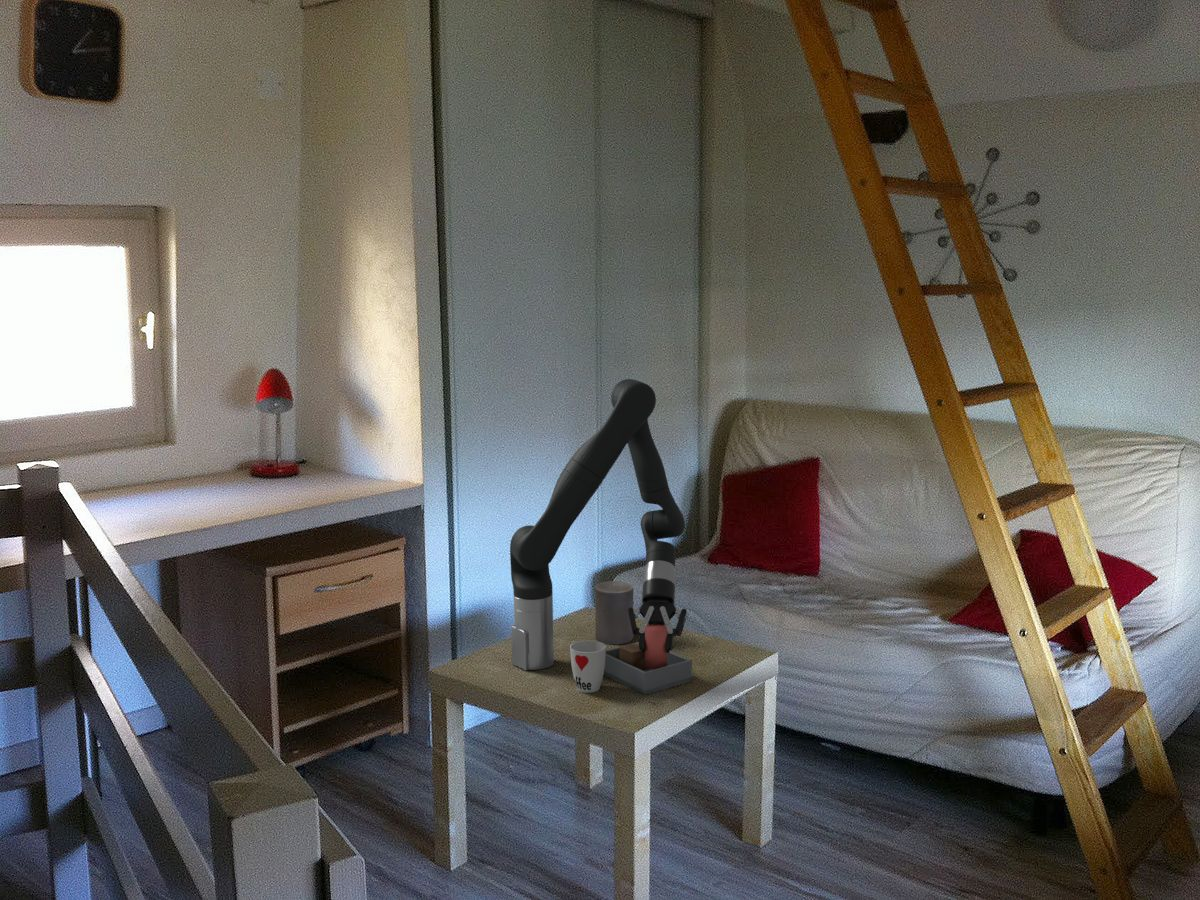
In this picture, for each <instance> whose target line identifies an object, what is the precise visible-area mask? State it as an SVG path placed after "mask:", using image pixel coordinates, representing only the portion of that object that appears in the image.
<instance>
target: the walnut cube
mask: <svg viewBox="0 0 1200 900" xmlns="http://www.w3.org/2000/svg"><path fill="white" fill-rule="evenodd" d="M628 644H629V645H628ZM628 644H625V645H622V646H618V647H619V660H621V661H623V662H625V663H627V664H630V665H632V666H634V667H636V668H638V669H640V670H642V671H643V670H647V669H649V668H647V667H646V666H645V652H642V650H640V649H639V644H638V643H636V642H633V644H632V643H628Z"/></svg>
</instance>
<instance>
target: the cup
mask: <svg viewBox="0 0 1200 900" xmlns="http://www.w3.org/2000/svg"><path fill="white" fill-rule="evenodd" d="M606 650H607V644H605V643H602V642H599V641H597V640H580V641H575V642H573V643H571V644H570V645H569V652H570V653H569V654H570V665H571V670H572V675H573V680H574V683H575V686H576V689H577V691H578V692H580V693H584V694H585V693H586V694H589V693H591V694H592V693H596V692H598V691H599V690H600V688H601V685H602V682H603V679H604V675H603V674H604V668H605V656H606Z"/></svg>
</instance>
